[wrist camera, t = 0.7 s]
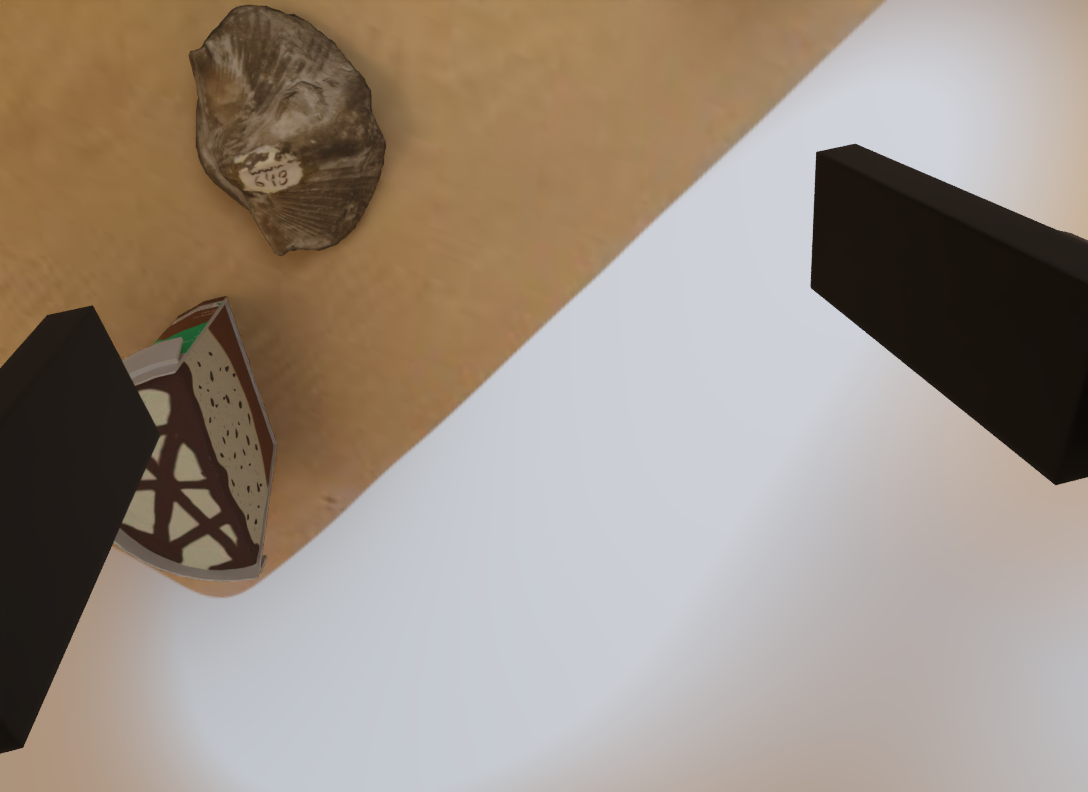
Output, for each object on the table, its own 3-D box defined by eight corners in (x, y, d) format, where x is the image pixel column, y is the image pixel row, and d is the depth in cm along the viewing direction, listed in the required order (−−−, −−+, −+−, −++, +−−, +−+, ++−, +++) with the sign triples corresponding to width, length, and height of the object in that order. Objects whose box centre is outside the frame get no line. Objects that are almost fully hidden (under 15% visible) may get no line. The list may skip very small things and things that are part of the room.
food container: (89, 288, 37) (3, 386, 29) (217, 268, 38) (169, 359, 29) (176, 485, 44) (127, 613, 35) (284, 465, 44) (261, 586, 36)
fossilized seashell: (150, 3, 30) (199, 233, 36) (221, 48, 26) (262, 295, 33) (323, -10, 34) (340, 199, 40) (405, 28, 30) (410, 250, 37)
